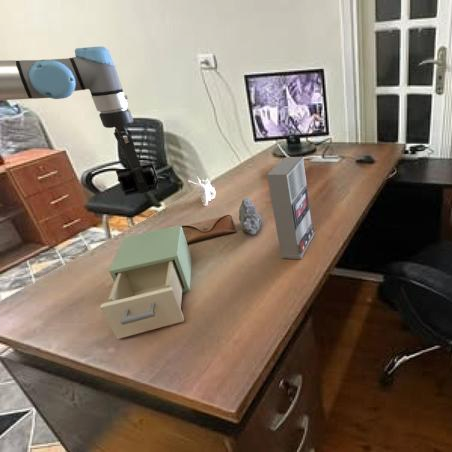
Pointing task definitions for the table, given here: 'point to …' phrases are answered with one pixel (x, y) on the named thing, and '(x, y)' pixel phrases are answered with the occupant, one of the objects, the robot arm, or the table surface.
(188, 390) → the table surface
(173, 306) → the drawer
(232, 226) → the sunglasses case
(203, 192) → the white figurine
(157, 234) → the cabinet
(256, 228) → the mineral rock
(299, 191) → the cassette tape recorder
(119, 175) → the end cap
